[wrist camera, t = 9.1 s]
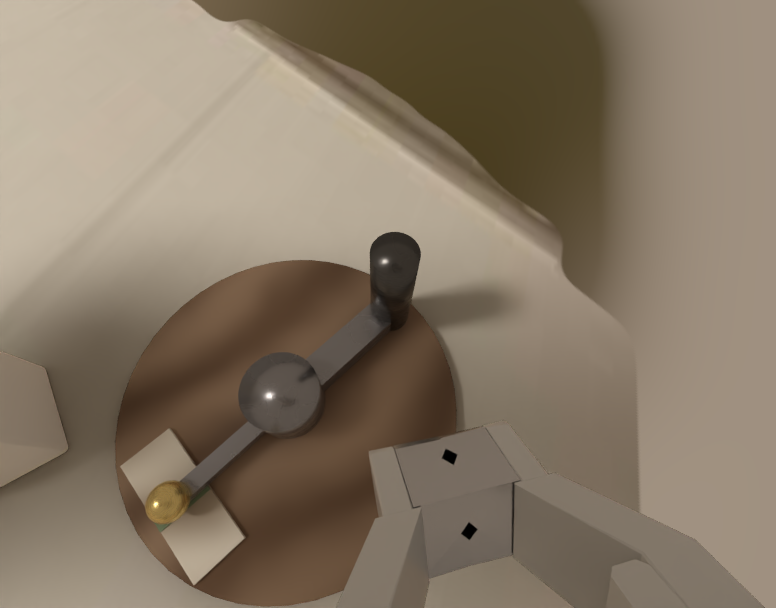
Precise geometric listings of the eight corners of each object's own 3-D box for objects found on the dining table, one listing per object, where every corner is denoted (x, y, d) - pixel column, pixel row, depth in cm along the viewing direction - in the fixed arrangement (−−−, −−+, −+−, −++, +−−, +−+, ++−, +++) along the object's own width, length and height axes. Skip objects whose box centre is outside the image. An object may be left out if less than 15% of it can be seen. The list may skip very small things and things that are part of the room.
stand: (61, 395, 29) (49, 391, 28) (318, 218, 37) (316, 209, 36) (251, 710, 22) (245, 722, 21) (520, 415, 30) (526, 412, 29)
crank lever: (149, 498, 26) (45, 503, 18) (368, 276, 33) (367, 206, 25) (199, 556, 25) (113, 590, 16) (416, 312, 32) (431, 251, 24)
